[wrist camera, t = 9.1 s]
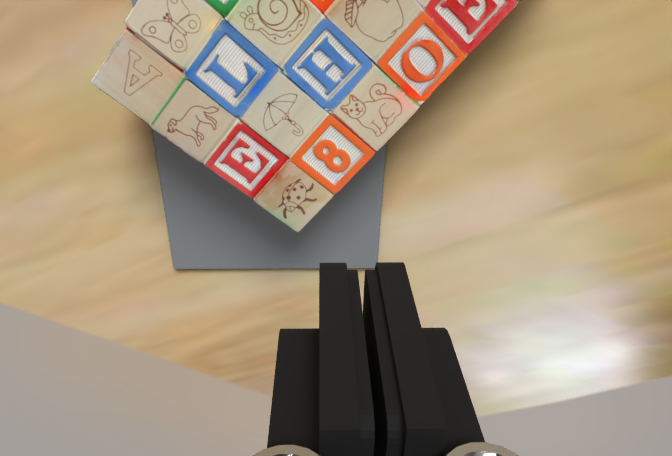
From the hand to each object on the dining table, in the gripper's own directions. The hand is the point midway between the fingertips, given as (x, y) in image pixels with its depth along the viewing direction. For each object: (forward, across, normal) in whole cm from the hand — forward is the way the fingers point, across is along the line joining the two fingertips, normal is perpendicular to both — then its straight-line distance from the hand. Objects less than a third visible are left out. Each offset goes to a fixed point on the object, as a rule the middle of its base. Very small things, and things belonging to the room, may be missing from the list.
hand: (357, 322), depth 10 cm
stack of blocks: (+18, -5, -1) cm, 19 cm away
